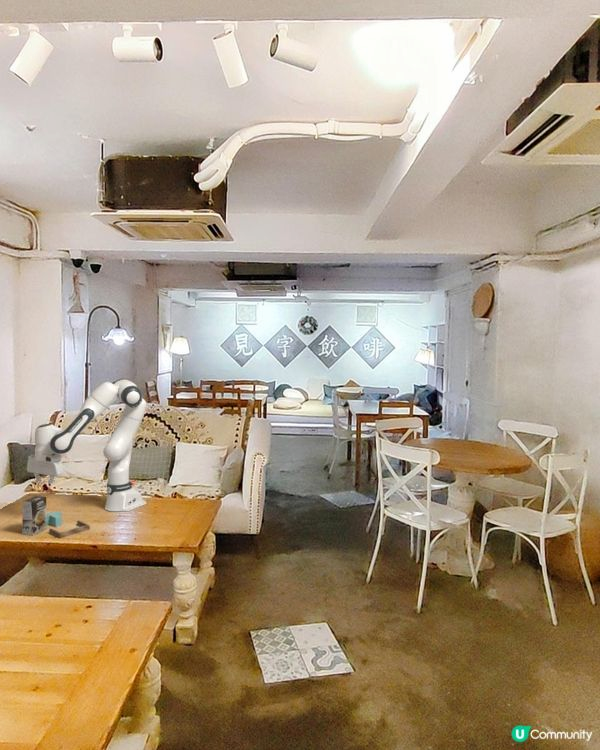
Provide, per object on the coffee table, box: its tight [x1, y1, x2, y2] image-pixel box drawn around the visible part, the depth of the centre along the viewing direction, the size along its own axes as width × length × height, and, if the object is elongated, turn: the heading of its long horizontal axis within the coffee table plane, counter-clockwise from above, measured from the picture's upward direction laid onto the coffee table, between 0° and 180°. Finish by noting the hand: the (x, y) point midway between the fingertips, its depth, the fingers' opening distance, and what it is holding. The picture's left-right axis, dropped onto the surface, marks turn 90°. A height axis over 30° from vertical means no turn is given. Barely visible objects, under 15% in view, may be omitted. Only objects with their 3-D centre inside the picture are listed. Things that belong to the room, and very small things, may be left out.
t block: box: [46, 510, 63, 528], centre depth 252 cm, size 9×9×4 cm
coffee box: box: [21, 495, 47, 536], centre depth 241 cm, size 9×6×16 cm
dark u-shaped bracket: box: [48, 520, 91, 539], centre depth 243 cm, size 15×10×2 cm, turn 143°
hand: (44, 482), depth 257 cm, fingers open, 6 cm apart
